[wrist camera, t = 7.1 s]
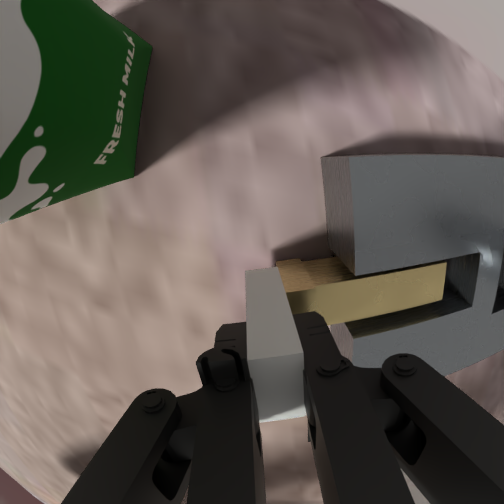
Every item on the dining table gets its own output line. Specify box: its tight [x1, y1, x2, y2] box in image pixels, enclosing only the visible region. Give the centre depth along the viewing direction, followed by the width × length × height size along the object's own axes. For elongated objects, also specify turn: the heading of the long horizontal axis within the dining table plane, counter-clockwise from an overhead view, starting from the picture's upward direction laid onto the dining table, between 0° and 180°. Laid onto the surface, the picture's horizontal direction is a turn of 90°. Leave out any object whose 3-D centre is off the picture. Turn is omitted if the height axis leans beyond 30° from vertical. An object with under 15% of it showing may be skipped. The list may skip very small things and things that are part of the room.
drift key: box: [276, 257, 447, 325], centre depth 13 cm, size 8×2×4 cm, turn 98°
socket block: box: [321, 153, 504, 376], centre depth 13 cm, size 16×12×4 cm
